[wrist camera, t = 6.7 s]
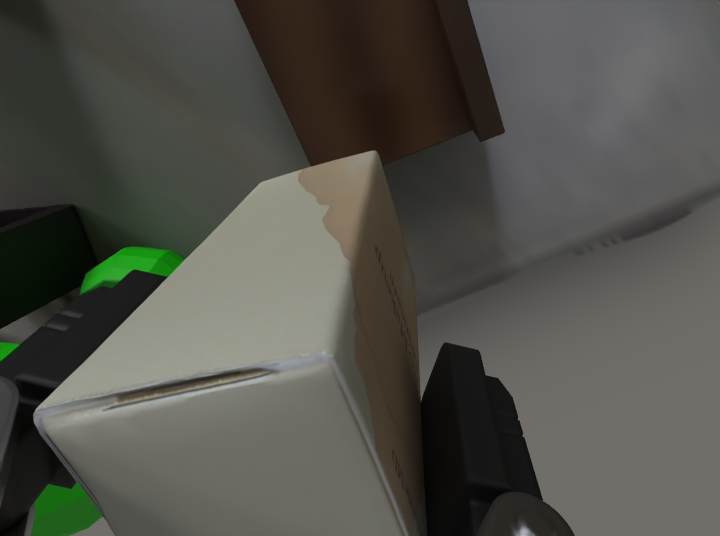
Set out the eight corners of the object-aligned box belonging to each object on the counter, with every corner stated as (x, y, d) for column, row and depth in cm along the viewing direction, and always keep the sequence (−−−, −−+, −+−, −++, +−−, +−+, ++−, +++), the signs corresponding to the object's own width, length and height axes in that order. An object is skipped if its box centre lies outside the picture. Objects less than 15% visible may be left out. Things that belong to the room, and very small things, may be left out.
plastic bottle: (145, 347, 42) (-149, 705, 20) (88, 238, 38) (-372, 543, 16) (251, 329, 40) (55, 704, 18) (203, 213, 36) (-133, 518, 14)
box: (417, 281, 17) (443, 628, 7) (304, 307, 18) (192, 650, 8) (375, 138, 15) (333, 356, 5) (250, 175, 16) (6, 424, 6)
